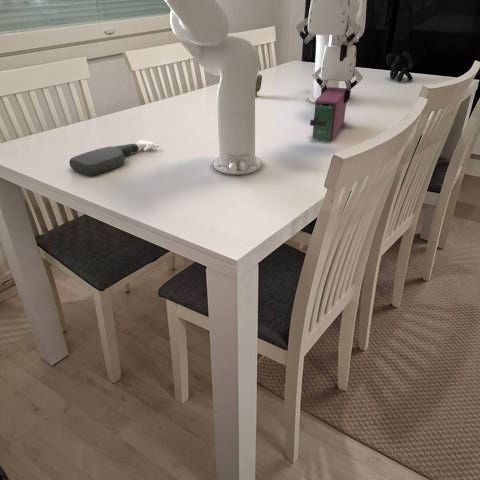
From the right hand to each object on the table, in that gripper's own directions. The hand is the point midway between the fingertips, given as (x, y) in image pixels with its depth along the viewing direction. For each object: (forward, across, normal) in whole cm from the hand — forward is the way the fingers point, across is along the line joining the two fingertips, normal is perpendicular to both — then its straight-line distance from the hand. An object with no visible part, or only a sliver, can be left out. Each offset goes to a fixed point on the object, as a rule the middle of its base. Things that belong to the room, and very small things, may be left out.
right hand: (334, 100), depth 143 cm
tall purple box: (+8, 0, +6) cm, 10 cm away
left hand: (-16, 0, +20) cm, 25 cm away
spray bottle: (+8, +50, +50) cm, 71 cm away
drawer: (+7, 0, +11) cm, 14 cm away
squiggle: (+8, -15, -74) cm, 75 cm away
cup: (+8, +38, -26) cm, 47 cm away
